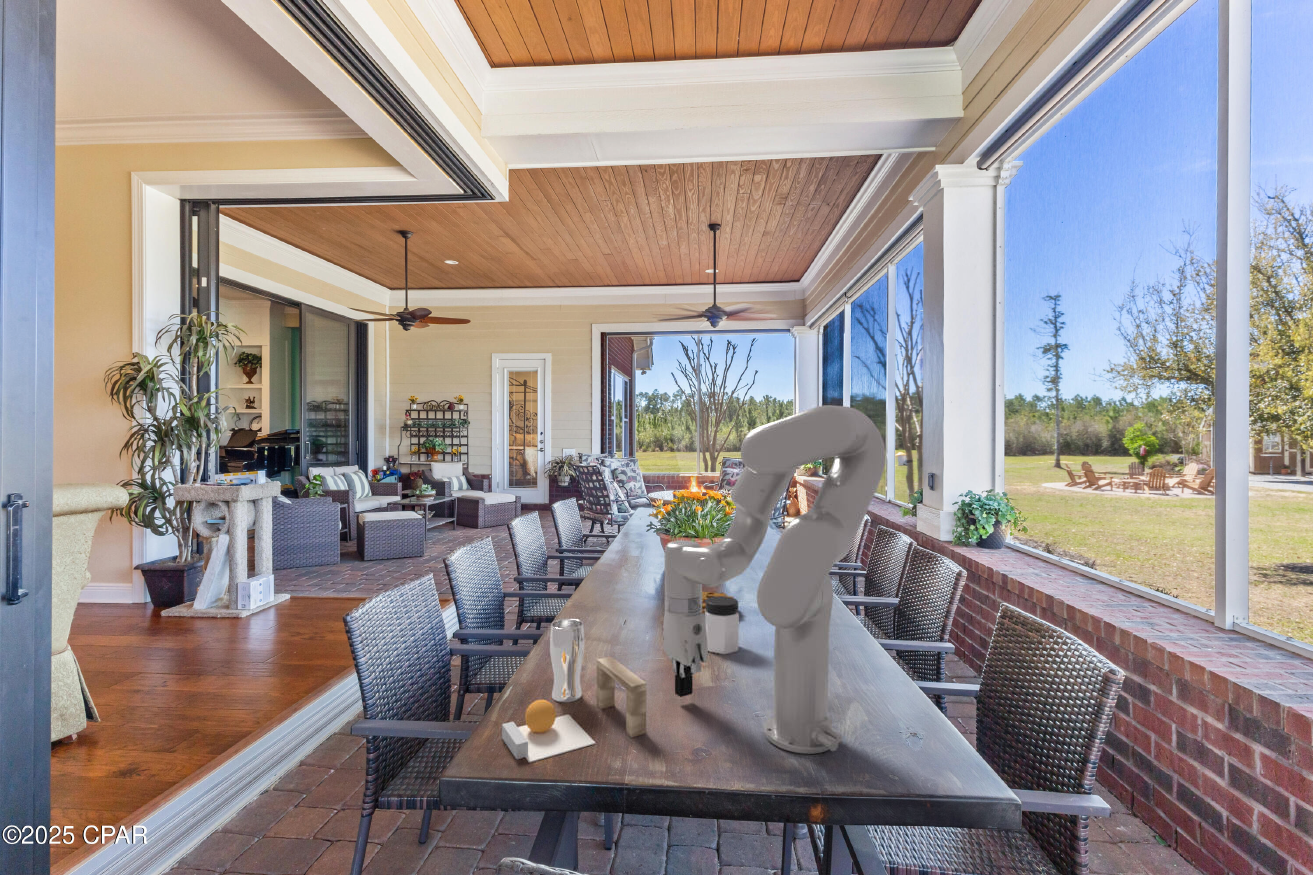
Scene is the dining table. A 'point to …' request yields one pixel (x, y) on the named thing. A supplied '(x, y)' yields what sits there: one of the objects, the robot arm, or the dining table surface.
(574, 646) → the beer glass
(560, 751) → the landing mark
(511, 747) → the stopper wall
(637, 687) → the bridge
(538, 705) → the ball
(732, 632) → the jar
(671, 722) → the dining table surface
